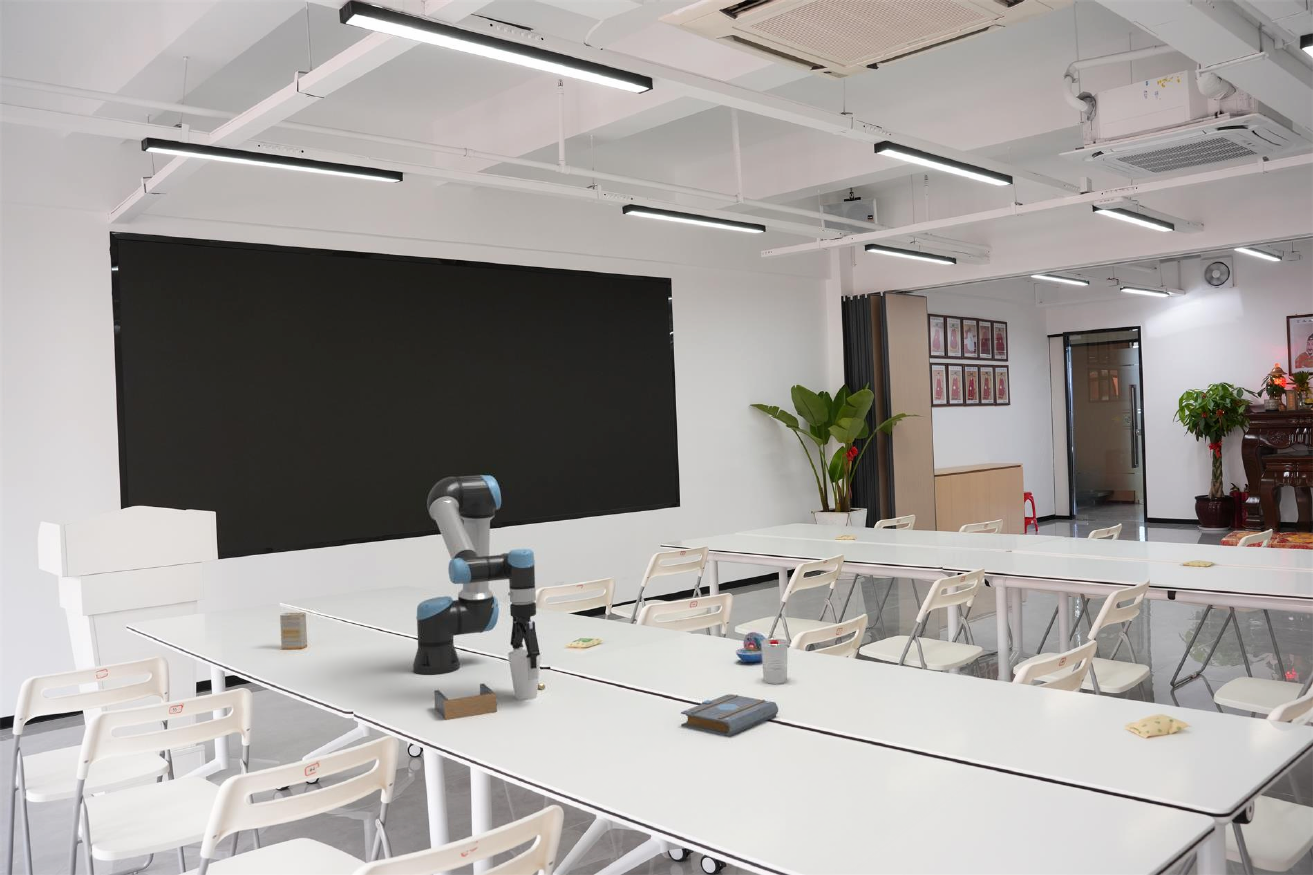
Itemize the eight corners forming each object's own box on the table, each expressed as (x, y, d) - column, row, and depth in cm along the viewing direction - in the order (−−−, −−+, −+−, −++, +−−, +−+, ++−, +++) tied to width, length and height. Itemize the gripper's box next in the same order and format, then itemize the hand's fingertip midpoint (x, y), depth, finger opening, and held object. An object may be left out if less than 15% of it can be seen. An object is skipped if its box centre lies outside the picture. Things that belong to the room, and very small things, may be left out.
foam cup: (515, 703, 279) (514, 657, 279) (505, 695, 287) (503, 652, 287) (546, 698, 283) (545, 653, 283) (535, 691, 291) (534, 647, 291)
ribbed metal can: (795, 678, 296) (794, 639, 296) (787, 685, 288) (785, 645, 288) (764, 676, 300) (762, 637, 300) (755, 683, 292) (753, 643, 292)
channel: (434, 708, 276) (434, 690, 276) (484, 700, 282) (483, 683, 282) (445, 719, 264) (445, 701, 264) (497, 711, 270) (496, 693, 270)
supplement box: (307, 646, 368) (306, 612, 368) (301, 649, 363) (300, 614, 363) (286, 646, 368) (285, 612, 368) (280, 649, 364) (279, 614, 364)
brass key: (524, 686, 297) (523, 681, 297) (530, 685, 299) (530, 679, 299) (539, 690, 292) (539, 685, 292) (546, 689, 294) (545, 683, 294)
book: (731, 739, 241) (730, 719, 241) (680, 727, 252) (679, 708, 252) (778, 718, 257) (777, 699, 257) (728, 708, 268) (727, 690, 268)
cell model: (729, 663, 319) (728, 634, 319) (752, 656, 327) (751, 628, 327) (752, 667, 312) (751, 637, 312) (775, 660, 320) (774, 631, 320)
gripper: (498, 598, 295) (501, 668, 294) (523, 609, 272) (526, 685, 272) (522, 596, 298) (524, 665, 298) (549, 606, 275) (551, 681, 275)
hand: (525, 675), depth 285 cm, fingers open, 13 cm apart
